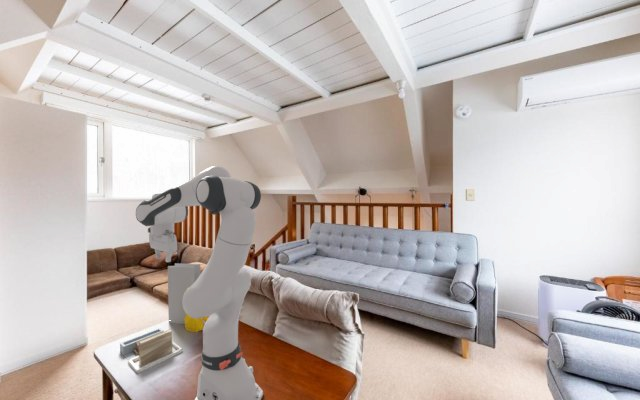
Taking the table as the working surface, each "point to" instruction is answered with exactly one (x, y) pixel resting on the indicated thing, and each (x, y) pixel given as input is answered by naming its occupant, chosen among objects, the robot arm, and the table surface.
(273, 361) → the table surface
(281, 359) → the table surface
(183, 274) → the grey tall block
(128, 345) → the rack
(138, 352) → the offcut
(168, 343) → the maple sheet
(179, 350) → the tray
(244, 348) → the table surface
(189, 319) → the figure statuette
